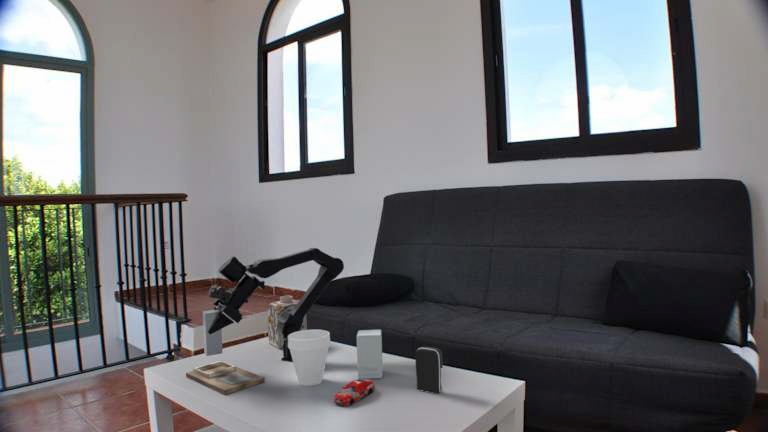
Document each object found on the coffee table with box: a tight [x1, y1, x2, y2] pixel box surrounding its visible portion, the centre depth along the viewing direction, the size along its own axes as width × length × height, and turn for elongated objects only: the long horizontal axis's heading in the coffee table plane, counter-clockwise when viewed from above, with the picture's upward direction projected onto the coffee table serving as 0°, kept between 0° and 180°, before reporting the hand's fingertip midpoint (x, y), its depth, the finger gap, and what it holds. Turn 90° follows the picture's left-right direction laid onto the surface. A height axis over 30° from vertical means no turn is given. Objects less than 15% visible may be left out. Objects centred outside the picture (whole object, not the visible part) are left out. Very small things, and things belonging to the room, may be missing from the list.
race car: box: [333, 378, 375, 406], centre depth 121 cm, size 13×5×4 cm, turn 144°
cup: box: [288, 329, 331, 387], centre depth 134 cm, size 12×12×14 cm
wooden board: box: [185, 360, 266, 395], centre depth 139 cm, size 13×24×2 cm, turn 47°
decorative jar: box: [267, 295, 308, 350], centre depth 177 cm, size 12×12×18 cm
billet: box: [202, 309, 223, 357], centre depth 144 cm, size 5×5×13 cm
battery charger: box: [415, 346, 444, 394], centre depth 124 cm, size 7×4×11 cm, turn 56°
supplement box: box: [356, 329, 384, 380], centre depth 138 cm, size 7×7×13 cm
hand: (207, 331), depth 144 cm, fingers closed on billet, 5 cm apart
